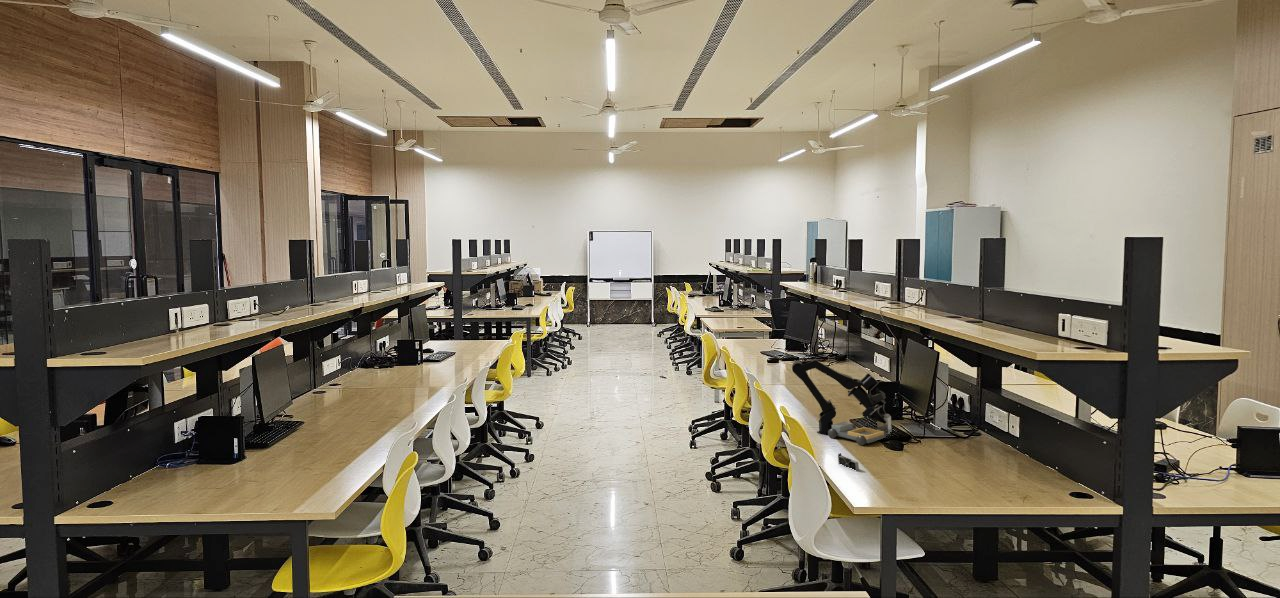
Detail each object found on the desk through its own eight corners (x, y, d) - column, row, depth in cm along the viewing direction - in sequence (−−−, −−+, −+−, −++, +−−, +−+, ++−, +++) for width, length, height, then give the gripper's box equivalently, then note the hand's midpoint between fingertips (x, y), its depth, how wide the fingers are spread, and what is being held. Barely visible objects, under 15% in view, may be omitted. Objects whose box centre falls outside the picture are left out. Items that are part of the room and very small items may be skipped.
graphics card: (838, 465, 297) (835, 454, 296) (843, 462, 297) (840, 452, 297) (856, 472, 286) (852, 461, 285) (860, 469, 286) (857, 459, 286)
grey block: (877, 435, 335) (876, 415, 334) (881, 433, 339) (880, 412, 338) (888, 437, 332) (887, 416, 331) (891, 434, 336) (890, 413, 335)
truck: (826, 437, 338) (826, 426, 337) (848, 431, 346) (847, 420, 345) (865, 446, 318) (864, 434, 318) (887, 440, 326) (886, 428, 326)
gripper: (868, 390, 328) (892, 415, 323) (880, 382, 343) (904, 406, 338) (852, 405, 334) (876, 430, 328) (865, 397, 349) (888, 421, 343)
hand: (887, 421), depth 334 cm, fingers closed on grey block, 5 cm apart
